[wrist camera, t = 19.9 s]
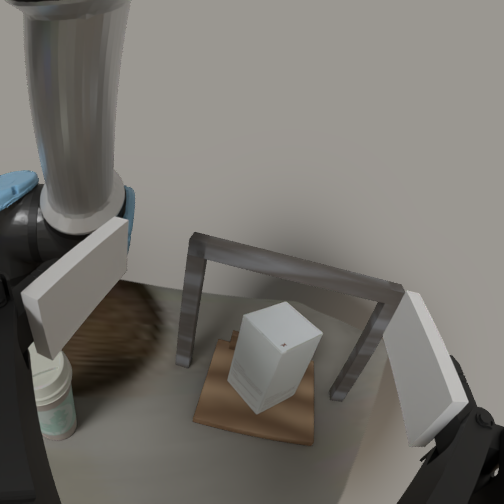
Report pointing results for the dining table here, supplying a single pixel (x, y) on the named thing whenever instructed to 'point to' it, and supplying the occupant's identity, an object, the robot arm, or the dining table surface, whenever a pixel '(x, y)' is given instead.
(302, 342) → the supplement box
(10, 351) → the robot arm
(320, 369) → the dining table surface
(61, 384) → the coffee cup
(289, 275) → the keeper arch
